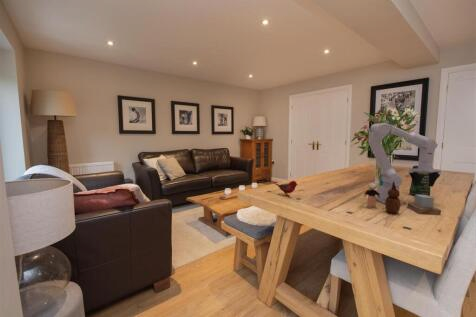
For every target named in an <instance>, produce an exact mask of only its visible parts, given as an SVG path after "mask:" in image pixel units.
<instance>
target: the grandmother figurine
mask: <svg viewBox="0 0 476 317" xmlns="http://www.w3.org/2000/svg"><path fill="white" fill-rule="evenodd" d="M376 188H377V185H376V183H374V182H371V183H368V189H369V190H366V191H365V192H364V194H363V198H366V197H367V205H366V208H368V209H377V199H376V198H377V196H378V198H380V195H379V193H378V192H377V189H376ZM375 189H376V190H375Z"/></svg>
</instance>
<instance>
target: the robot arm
mask: <svg viewBox="0 0 476 317" xmlns="http://www.w3.org/2000/svg"><path fill="white" fill-rule="evenodd" d="M388 134H392V135H395V136H398V137H399V138H400V137H401V138H402V139H404V140H405V141H406V143H409V144H411V145H413V146H416V147H418V149H419V155H418V163H417V166H418V168H416V169H412V168H408V174H409V175H410V177H411V182H412V181H413V185H414V186H417V185H418V179H419V176H420V174H418V173H428V175H429V186H430V188H433V187H434V185H435V182H437V179H439V177H440V176H441V174H442V169H438V168H437V169H436V168H433V164H434V163H433V161H434V153H435V150H436V149H437V148H438V145H439V144H438V143H437V141H436V139H434V138H428V136H426V135H421V134H420V133H419V132H418V131H412V132H408V131H406V130H403V129H402V128H399V127H397V126H394V125H393V124H390V123H389V124H388V123H386V122H382V123H373V124H372V125H371V126H370V128H369V129H368V142H367V143H368V145H369V148H370V149H371V151H372V153H373V157H374V158H375V159H376V162H377V164H378V166H379V169H380V172H381V179H382V181H383V185H382V186H379V185H378V186H377V187H376V188H377V189H376V191H377V192H378V193H379V195H380V198H378V196H377V195H376V201H377V200H378V201H379V202H380V203H383V204H385V202H386V198H387V197H389V196H388V190H389V189H392V184H393V181H394V182H395V187H396V190H399V191H400V186H401V185H402V183H403V177H401V175H399V174H398V172H397V171H396V170H395V169H394V167H393V166H392V164H391V162H390V159H389V157H388V155H387V153H386V151H385V149H384V147H383V145H382V141H383V139H384V138H385V137H386V136H388ZM432 168H433V169H432ZM422 171H425V172H422ZM400 205H402V202H401V201H400Z"/></svg>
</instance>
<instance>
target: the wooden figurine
mask: <svg viewBox="0 0 476 317" xmlns="http://www.w3.org/2000/svg"><path fill="white" fill-rule="evenodd" d="M400 194H401V193H400V189H399V190H396V187H395V182H394V181H393V184H392V189H389V190H388V196H389V197H387V198H386V202H385V203H384V205H385V210H386V212H387V213H390V214H398V213H399V210H400V208H401V204H400V202H401V200H400V198H399V197H400Z"/></svg>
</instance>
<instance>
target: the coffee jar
mask: <svg viewBox="0 0 476 317" xmlns="http://www.w3.org/2000/svg"><path fill="white" fill-rule="evenodd" d="M416 168H418V165H413V166H412V168H411V169H416ZM432 169H434V168H433V167H432ZM422 172H425V171H422ZM418 174H420V176H419V179H418V185H417V186H414V185H413V181H412V180H411V183H410V187H409V192H408V194H410V195H411V196H414V197H415V195H428V196H430V197H431V186H429V175H428V173H418Z"/></svg>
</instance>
